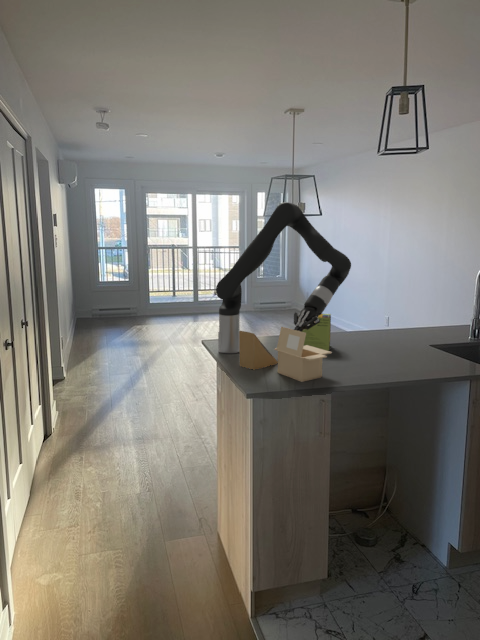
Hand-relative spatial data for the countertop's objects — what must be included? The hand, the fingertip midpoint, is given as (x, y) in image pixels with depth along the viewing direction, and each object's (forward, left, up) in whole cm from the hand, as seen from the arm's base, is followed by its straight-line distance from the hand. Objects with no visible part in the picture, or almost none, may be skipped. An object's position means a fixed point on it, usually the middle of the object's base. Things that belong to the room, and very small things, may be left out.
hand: (294, 335), depth 182 cm
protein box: (+8, +47, -16) cm, 50 cm away
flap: (-1, -1, -2) cm, 2 cm away
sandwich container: (-14, +15, -16) cm, 26 cm away
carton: (+4, +4, -16) cm, 17 cm away
